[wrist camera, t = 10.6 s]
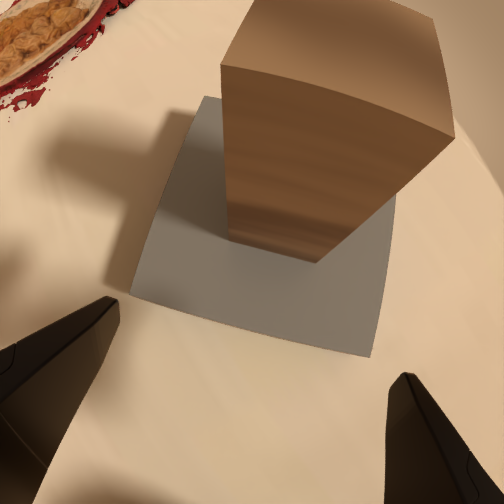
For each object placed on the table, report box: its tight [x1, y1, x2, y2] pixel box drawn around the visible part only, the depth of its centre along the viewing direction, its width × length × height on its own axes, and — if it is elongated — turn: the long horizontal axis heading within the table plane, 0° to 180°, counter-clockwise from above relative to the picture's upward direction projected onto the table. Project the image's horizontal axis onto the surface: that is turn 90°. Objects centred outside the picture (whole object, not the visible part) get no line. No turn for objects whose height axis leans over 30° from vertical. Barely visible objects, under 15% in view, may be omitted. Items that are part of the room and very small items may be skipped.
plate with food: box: [0, 0, 135, 122], centre depth 25 cm, size 25×26×4 cm
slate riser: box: [129, 96, 396, 358], centre depth 20 cm, size 14×14×3 cm
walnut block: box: [220, 0, 455, 264], centre depth 12 cm, size 5×5×13 cm
